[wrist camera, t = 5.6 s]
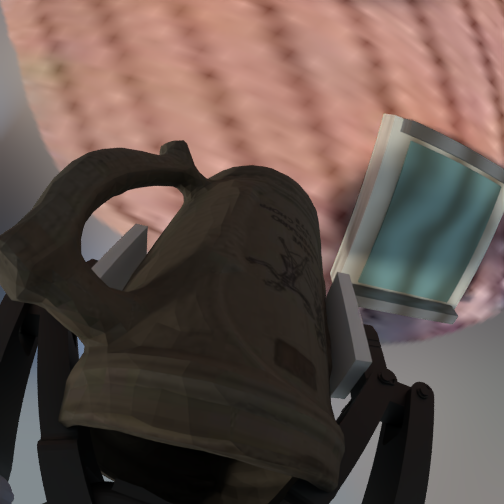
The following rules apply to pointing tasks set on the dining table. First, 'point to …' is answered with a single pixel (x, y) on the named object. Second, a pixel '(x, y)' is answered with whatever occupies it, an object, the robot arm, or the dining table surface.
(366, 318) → the dining table surface
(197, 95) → the dining table surface
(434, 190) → the tray
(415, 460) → the robot arm
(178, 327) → the beer stein
